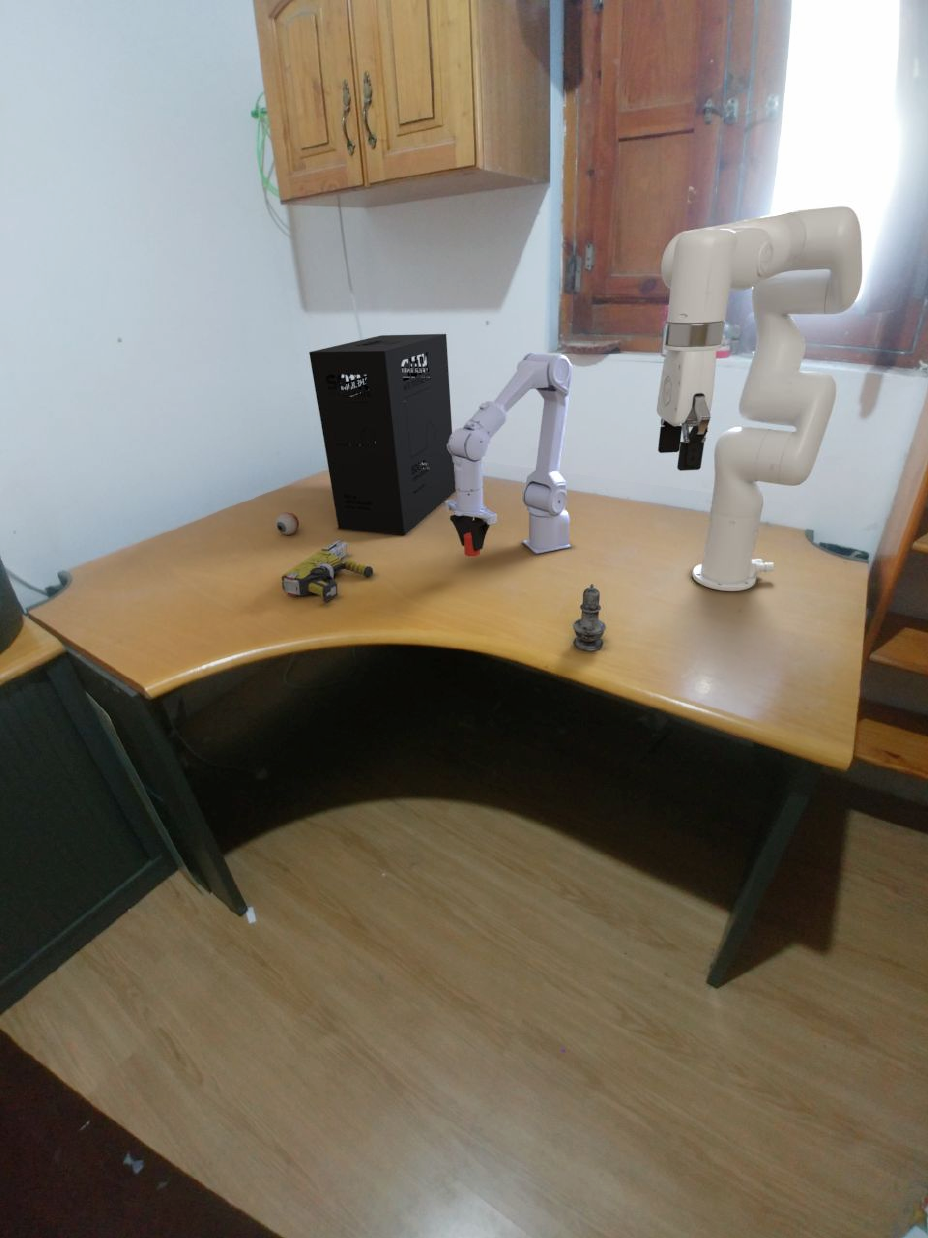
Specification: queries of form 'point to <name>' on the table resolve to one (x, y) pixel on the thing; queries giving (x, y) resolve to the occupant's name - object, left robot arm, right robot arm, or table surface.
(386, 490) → the cardboard box
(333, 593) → the toy gun
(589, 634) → the grey tiered stone figure
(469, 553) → the canister
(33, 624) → the table surface
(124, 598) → the table surface
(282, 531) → the eyeball
